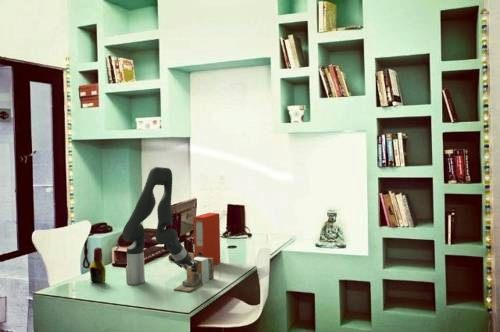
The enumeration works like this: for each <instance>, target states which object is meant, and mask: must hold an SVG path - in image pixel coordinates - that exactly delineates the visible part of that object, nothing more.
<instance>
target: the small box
mask: <svg viewBox="0 0 500 332" xmlns="http://www.w3.org/2000/svg"><path fill="white" fill-rule="evenodd" d="M195 260H197V262H198V267H197V269H198V270H197V273H201V283H203V284H205V283H208V282H209V281H210V279H209V268H208V258H202V257H195V258H194V261H195Z"/></svg>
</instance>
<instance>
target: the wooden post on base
mask: <svg viewBox="0 0 500 332" xmlns="http://www.w3.org/2000/svg"><path fill="white" fill-rule="evenodd" d="M188 253H189V255H190V259H192V261H194V252H188ZM192 267H193V266H192ZM199 283H201V273H197V272H196V273H195V272H194V271H193V269H192V268H189V267H188V266H187V271H186V279H184V280H183V281H182V283H181V285H185V286H193V287H194V286H196V285H197V284H199Z"/></svg>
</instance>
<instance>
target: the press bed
mask: <svg viewBox="0 0 500 332" xmlns="http://www.w3.org/2000/svg"><path fill="white" fill-rule="evenodd" d="M202 258H207V257H202ZM208 268H209V281H210V280H211V281H212V280H214V278H215V277H214V276H215V275H214V274H215V273H214V266H213V258H208ZM203 286H204V283H199V284H197V285H196V286H194V287H193V286H185V285H182V284H180V285H179V286H177V287H175V288H173V291H175V292H181V293H190V294H191V293H192V292H194V291H195V290H197V289H198V290H199V288H201V287H203Z"/></svg>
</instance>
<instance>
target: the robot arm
mask: <svg viewBox="0 0 500 332" xmlns="http://www.w3.org/2000/svg"><path fill="white" fill-rule="evenodd" d="M156 186H163V195H162V196H161V198H160V201H159V202H158V205H157V209H156V210H157V227H156V231H155V241H156V243H157V244H158V245H160V246H161V245H166V246H165V247H166V249H167V251H168V252H169V253H170V255H171V257H172V258H173V259H174V262H173V263H174V264H175V265H177V266H178V267H179V268H183V269H184V270H185V271H186V272H187V266H188V267H189V268H192V269H193V271H194V272H195V273H196V272H197V270H198V269H197V267H198V262H197V260H195V261H192V259H190V255H189V253H190V252H188V250H187V249H186V248H185V247H184V245H183V244H182V243H181V242H180V240H179V237H178V232H177V231H176V230H175V229H174V228H166V227H167V226H169V225H171V224H172V223H173V214H172V196H173V195H172V193H173V172H172V170H171V169H170V168H169V167H162V166H161V167H160V166H154V167H152V168H151V169H150V171H149V173H148V176H147V178H146V182H145V185H144V186H143V187H144V188H143V190H142V192H141V194H140V195H139V198H138V200H137V202H136V205H135V207H134V208H133V211H132V213H131V215H130V216H129V218H128V221H127V222H126V224H125V225H124V227H123V229H122V238H123V240H124V241H125V242H132V244H131V245H129V246H128V247H127V248H126V264H127V265H126V266H125V274H126V276H125V277H126V279H125V280H126V284H129V286H130V285H131V286H132V285H133V286H135V285H136V286H138V285H142V284H144V283H146V277H145V276H146V275H145V273H146V272H145V255H144V254H145V253H144V251H145V250H144V249H145V238H146V237H145V234H146V233H145V232H146V231H145V227H144V225H143V224H142V222H144V221H145V220H146V219H147V218H149V216H151V214H152V213H153V211H154V209H155V206H156V204H157V202H156V197H155V194H154V189H155V187H156ZM192 266H193V267H192Z"/></svg>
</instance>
